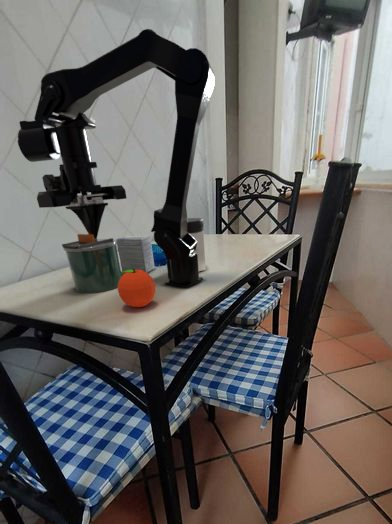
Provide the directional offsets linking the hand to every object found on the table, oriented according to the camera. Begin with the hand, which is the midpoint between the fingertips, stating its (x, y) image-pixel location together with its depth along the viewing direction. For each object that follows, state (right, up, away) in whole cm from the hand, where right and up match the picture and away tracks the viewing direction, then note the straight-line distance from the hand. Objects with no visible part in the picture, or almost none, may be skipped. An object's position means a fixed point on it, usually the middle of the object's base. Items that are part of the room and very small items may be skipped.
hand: (94, 238), depth 70 cm
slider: (-2, -2, -2) cm, 4 cm away
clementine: (+12, -17, -10) cm, 23 cm away
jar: (+21, -4, +11) cm, 25 cm away
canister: (0, -10, +4) cm, 10 cm away
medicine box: (+7, -4, +14) cm, 16 cm away
